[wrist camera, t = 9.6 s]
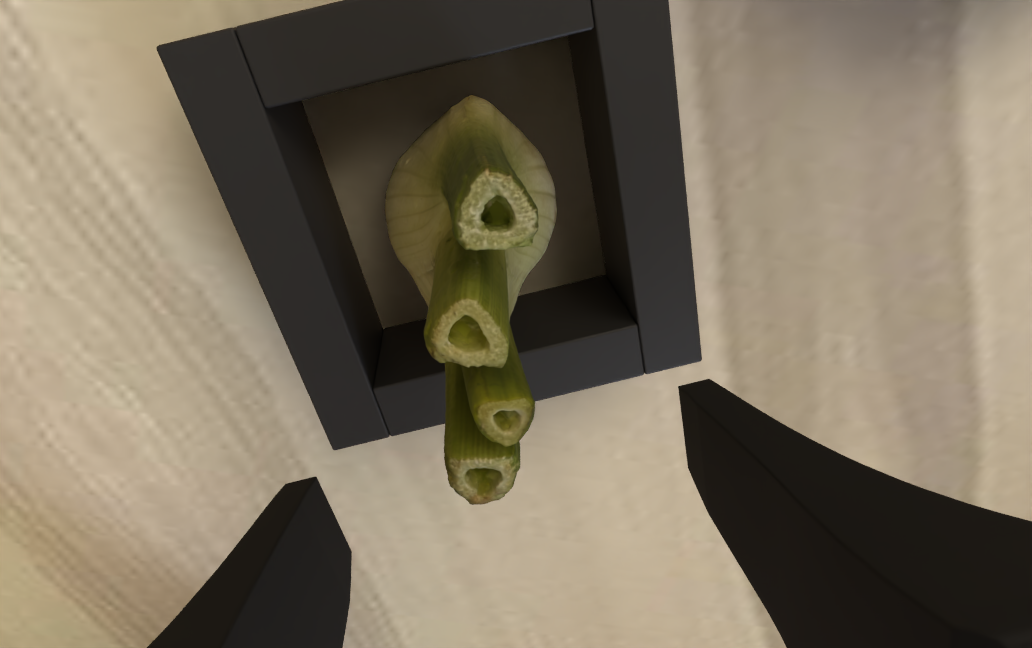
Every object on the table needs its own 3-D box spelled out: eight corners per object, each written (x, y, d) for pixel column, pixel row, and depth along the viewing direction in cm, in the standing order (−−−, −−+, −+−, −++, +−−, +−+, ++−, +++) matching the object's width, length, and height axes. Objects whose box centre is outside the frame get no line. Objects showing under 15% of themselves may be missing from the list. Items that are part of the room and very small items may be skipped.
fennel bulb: (442, 63, 18) (445, 132, 8) (581, 146, 20) (744, 300, 9) (359, 231, 20) (270, 472, 10) (492, 296, 22) (541, 566, 11)
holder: (349, 383, 23) (332, 451, 19) (211, 39, 18) (153, 46, 14) (661, 307, 23) (702, 361, 19) (617, -60, 18) (662, -78, 14)
